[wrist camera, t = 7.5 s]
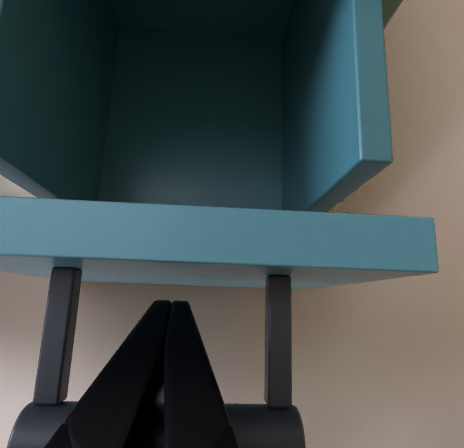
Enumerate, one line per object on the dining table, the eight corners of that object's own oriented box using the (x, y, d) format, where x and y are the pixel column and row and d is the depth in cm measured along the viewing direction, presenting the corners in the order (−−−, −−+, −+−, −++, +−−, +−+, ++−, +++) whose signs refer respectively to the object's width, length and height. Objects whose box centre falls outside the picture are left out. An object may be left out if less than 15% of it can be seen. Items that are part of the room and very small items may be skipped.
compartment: (309, 398, 16) (465, 541, 6) (47, 394, 15) (-219, 548, 6) (304, 45, 20) (395, -192, 10) (96, 28, 19) (-11, -243, 10)
